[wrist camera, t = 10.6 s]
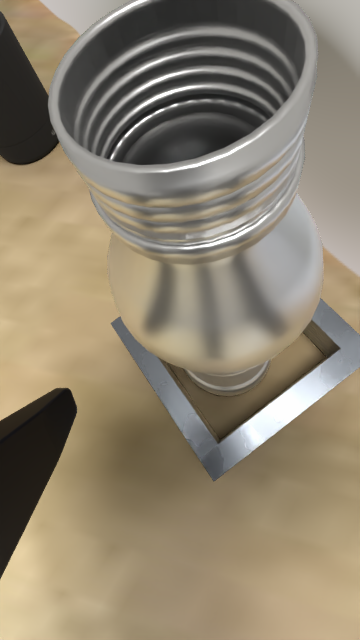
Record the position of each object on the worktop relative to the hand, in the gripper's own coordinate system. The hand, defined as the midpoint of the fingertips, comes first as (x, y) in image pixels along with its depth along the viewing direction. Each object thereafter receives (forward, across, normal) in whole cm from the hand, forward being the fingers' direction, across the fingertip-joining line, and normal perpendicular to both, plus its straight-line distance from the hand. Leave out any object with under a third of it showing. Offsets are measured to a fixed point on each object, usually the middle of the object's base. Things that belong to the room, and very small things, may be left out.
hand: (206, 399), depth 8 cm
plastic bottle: (+13, 0, +7) cm, 14 cm away
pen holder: (+32, +23, -14) cm, 42 cm away
